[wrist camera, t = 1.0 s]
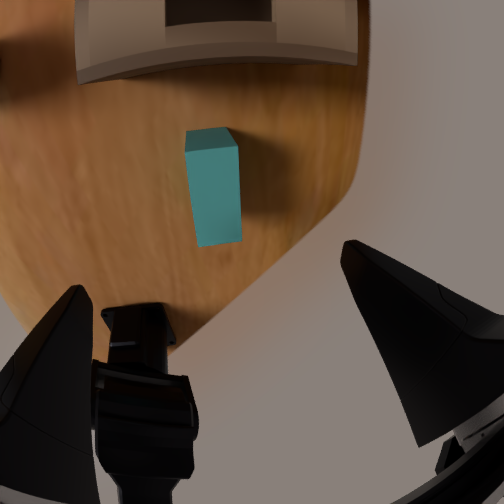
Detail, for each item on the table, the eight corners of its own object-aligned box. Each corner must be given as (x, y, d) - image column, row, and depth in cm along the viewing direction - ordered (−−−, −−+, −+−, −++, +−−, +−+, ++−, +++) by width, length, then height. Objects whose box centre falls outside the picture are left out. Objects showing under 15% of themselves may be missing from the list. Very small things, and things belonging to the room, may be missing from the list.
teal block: (229, 201, 19) (242, 241, 15) (195, 206, 19) (198, 247, 15) (225, 126, 16) (238, 146, 12) (186, 131, 16) (184, 152, 12)
